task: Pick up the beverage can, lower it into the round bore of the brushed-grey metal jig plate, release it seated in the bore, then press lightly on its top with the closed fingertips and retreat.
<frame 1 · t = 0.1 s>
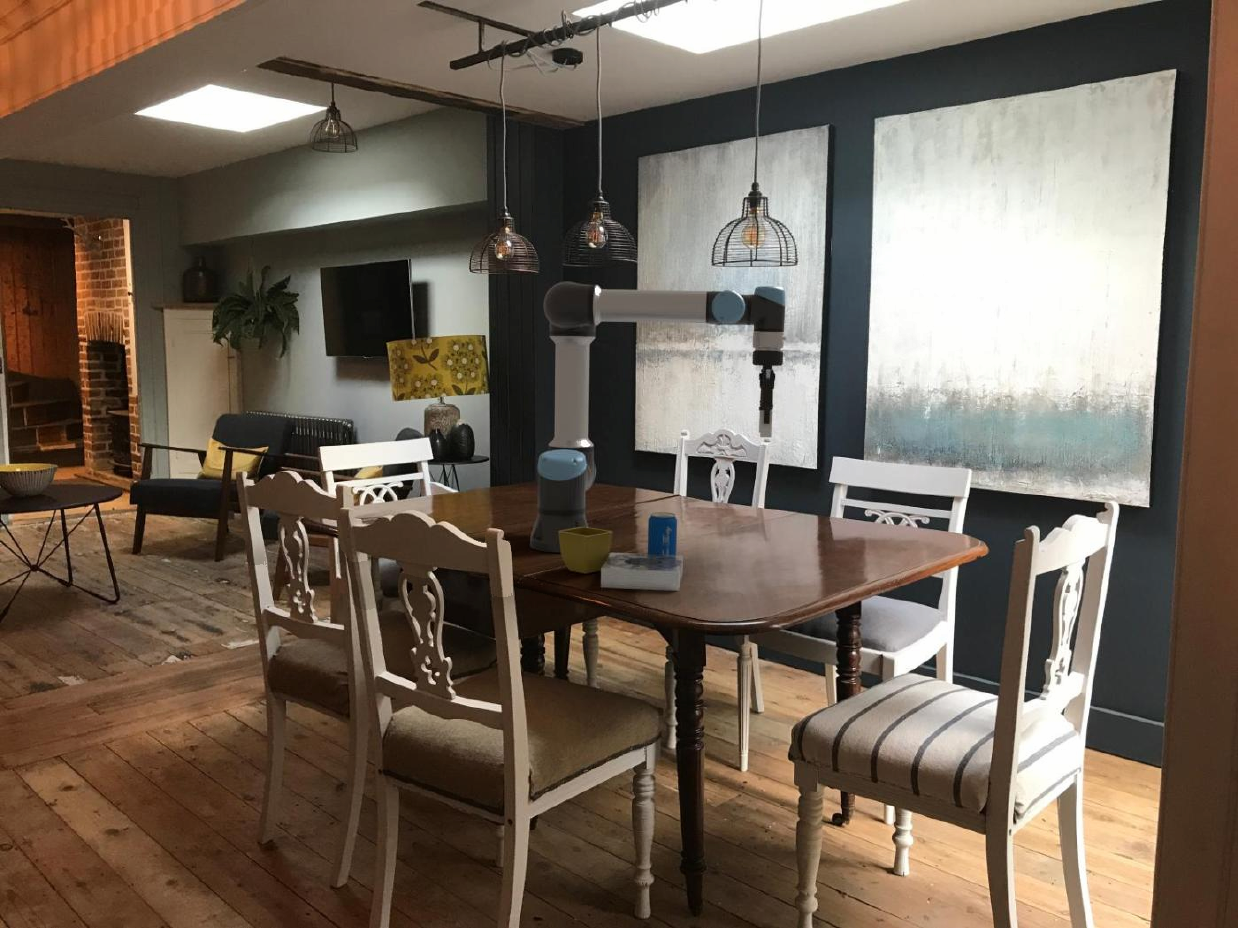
hand: (764, 435, 250), 28 cm above the table, fingers open, 13 cm apart
flower pot: (584, 571, 220), on the table
jig: (643, 580, 213), on the table
beverage can: (661, 567, 226), on the table
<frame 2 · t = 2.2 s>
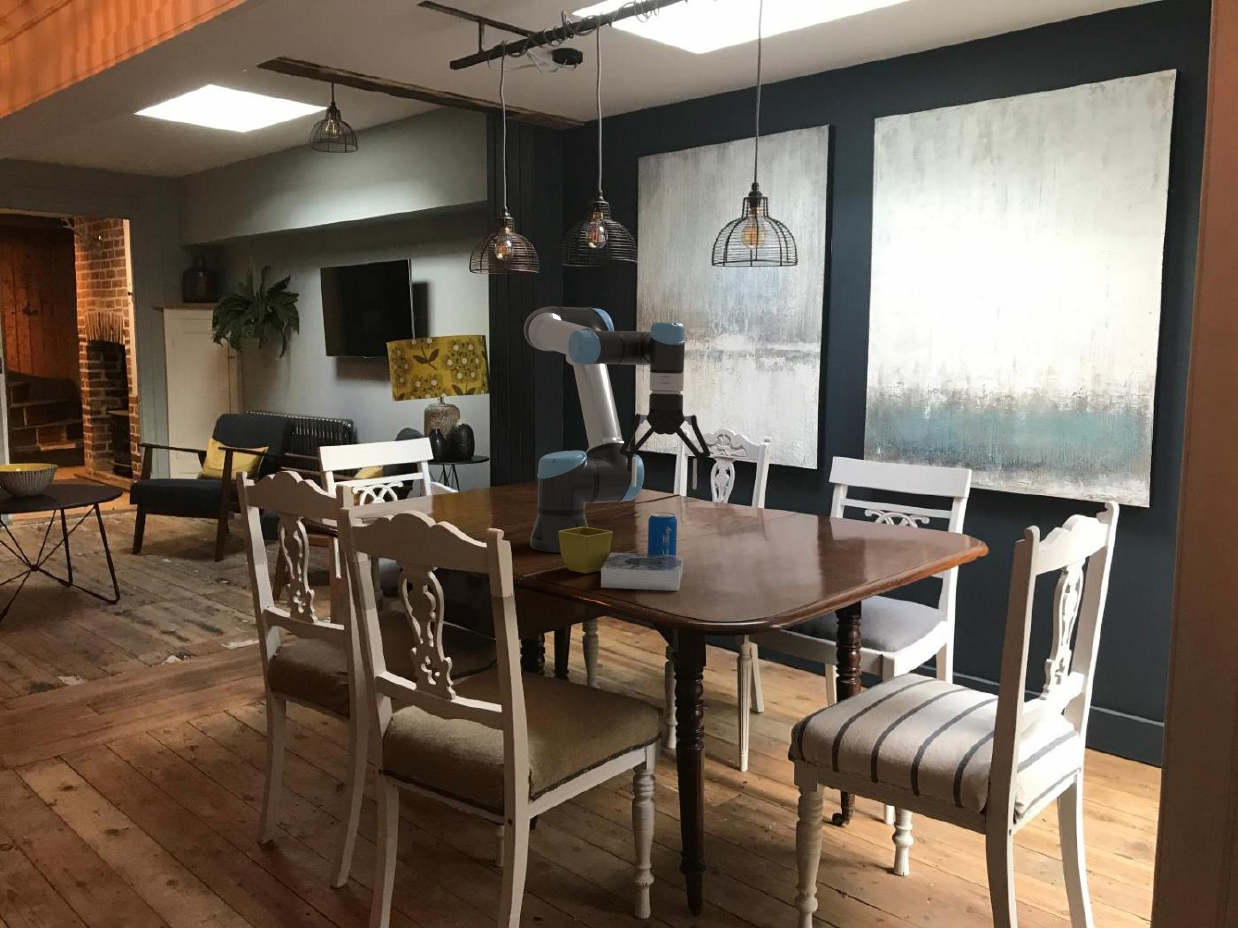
hand: (664, 487, 224), 18 cm above the table, fingers open, 13 cm apart
nothing on the table moved.
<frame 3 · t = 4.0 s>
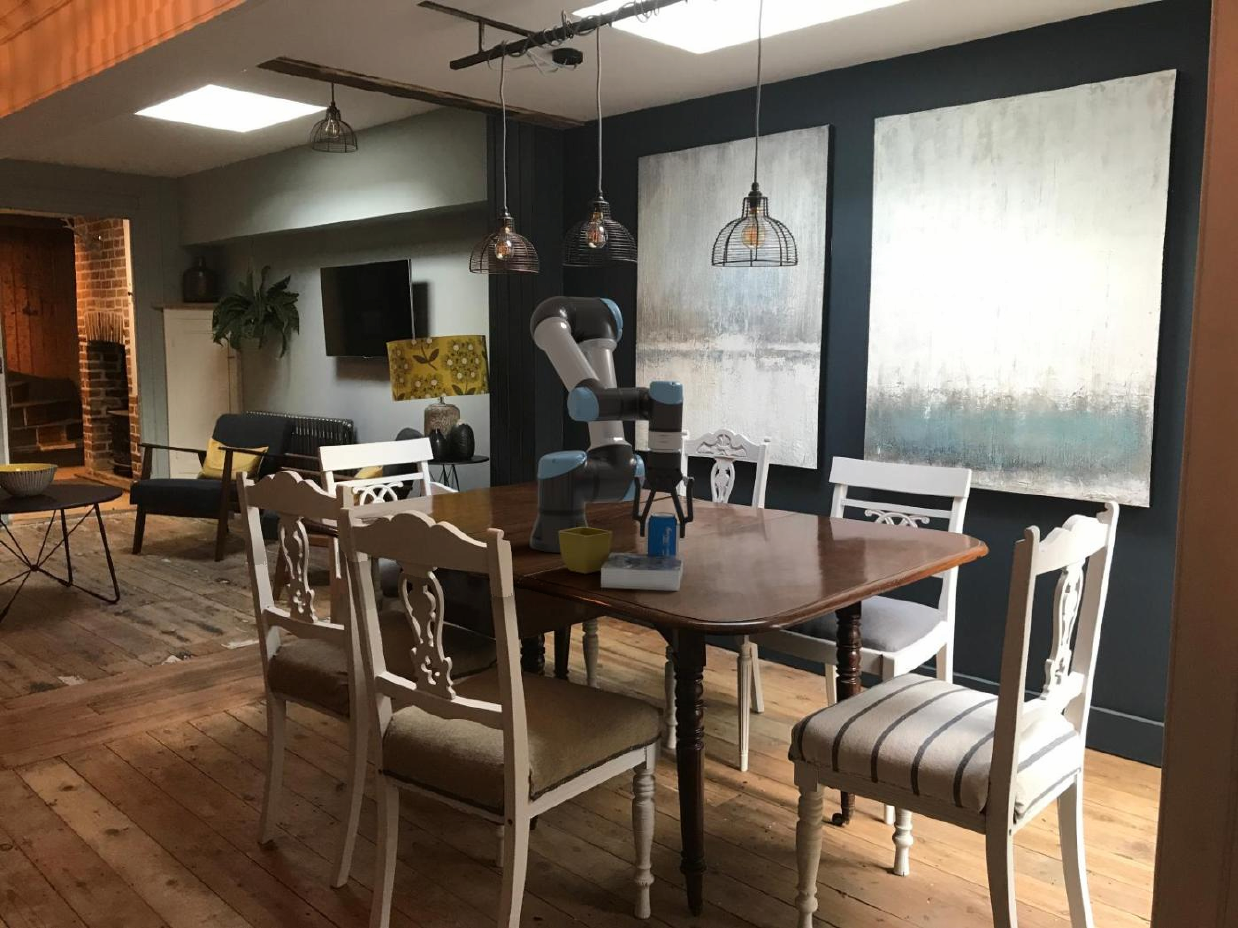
hand: (662, 551, 226), 3 cm above the table, fingers closed on beverage can, 6 cm apart
beverage can: (661, 567, 226), on the table, touching gripper
everything else where it was.
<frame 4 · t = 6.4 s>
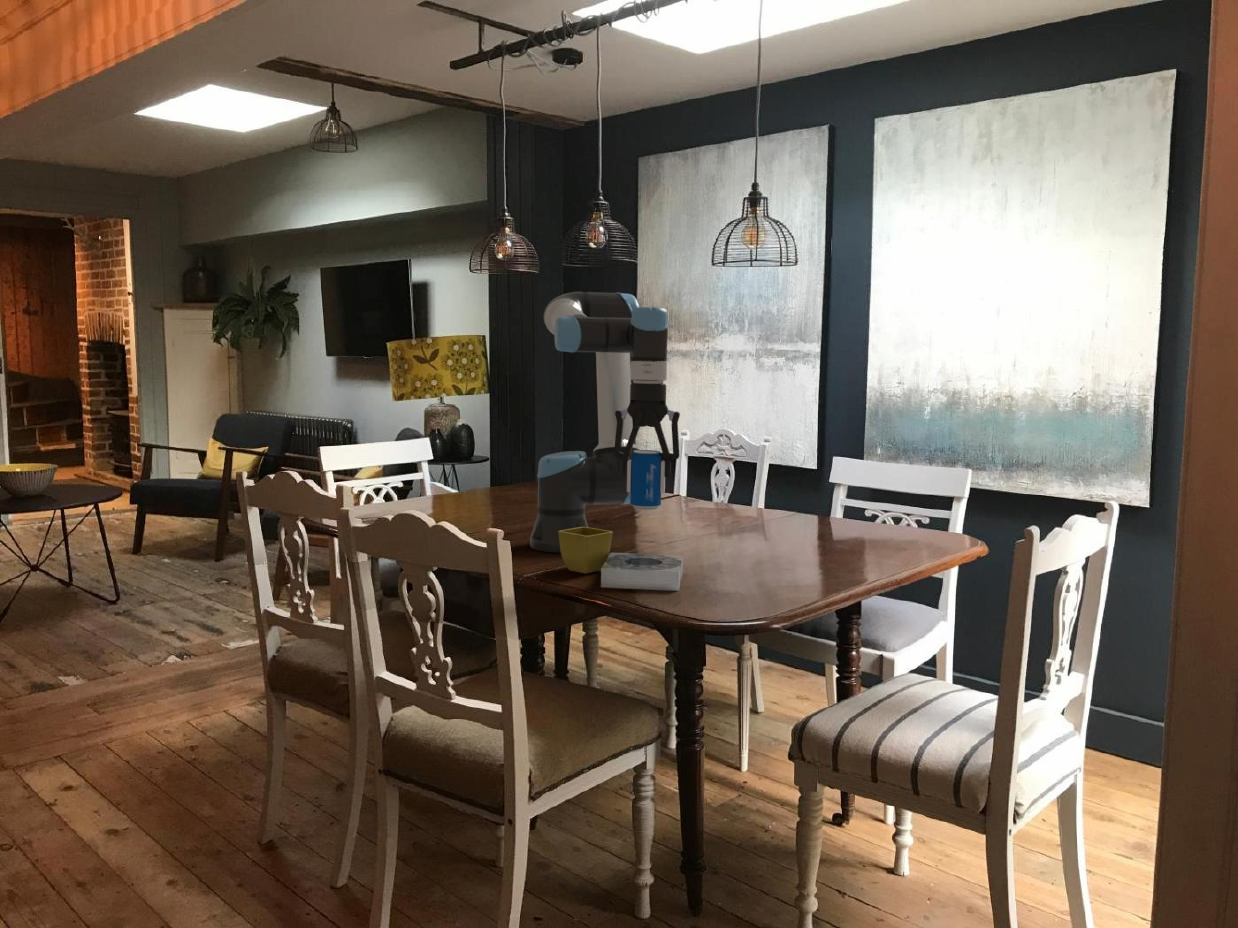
hand: (645, 491, 211), 19 cm above the table, fingers closed on beverage can, 6 cm apart
beverage can: (645, 508, 211), point 15 cm above the table, touching gripper
everything else where it was.
when the fingers open (5 cm above the table, at t = 8.8 s): beverage can drops 2 cm, resting in jig.
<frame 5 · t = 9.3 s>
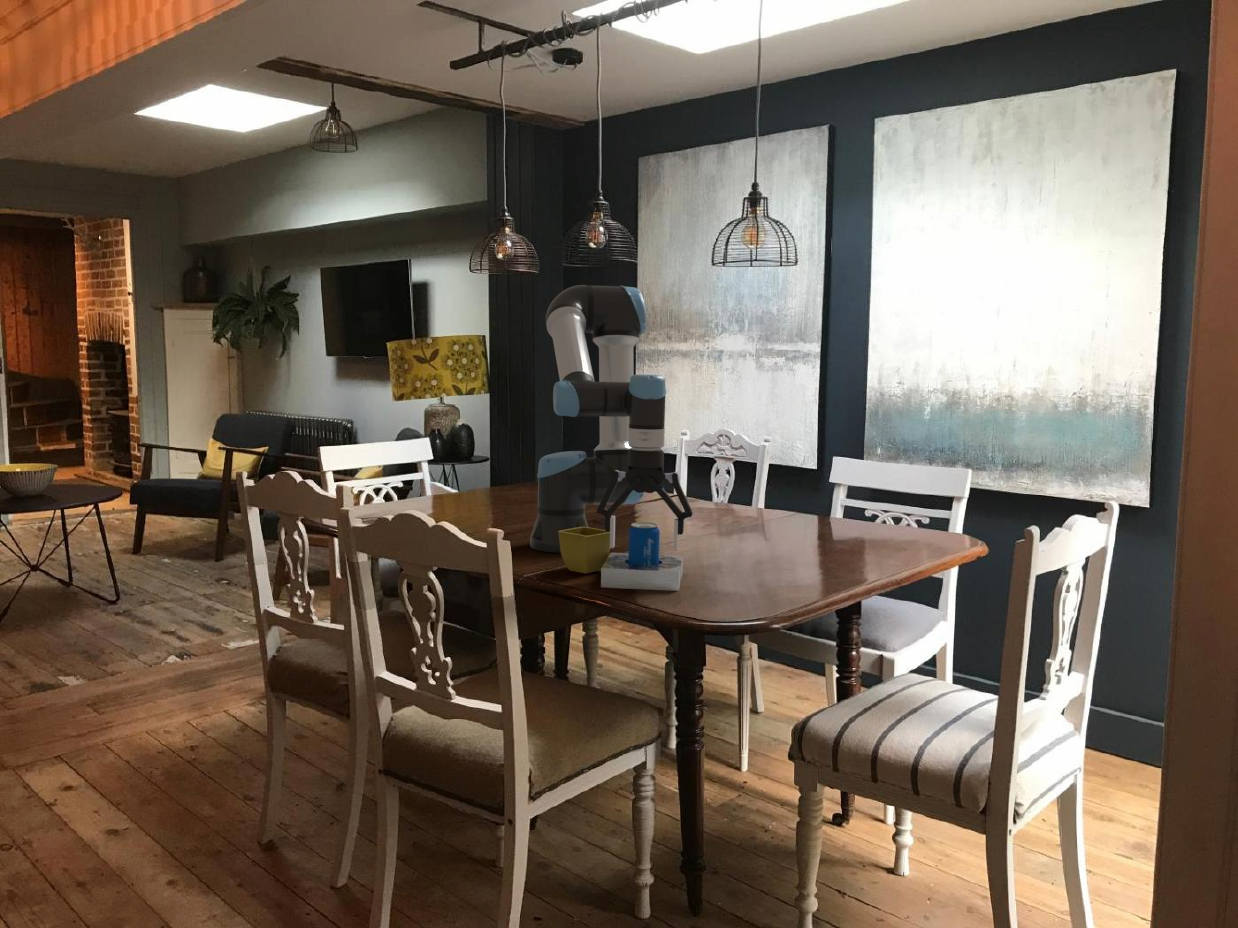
hand: (643, 548, 212), 7 cm above the table, fingers open, 13 cm apart
beverage can: (643, 581, 213), resting in jig
everything else where it was.
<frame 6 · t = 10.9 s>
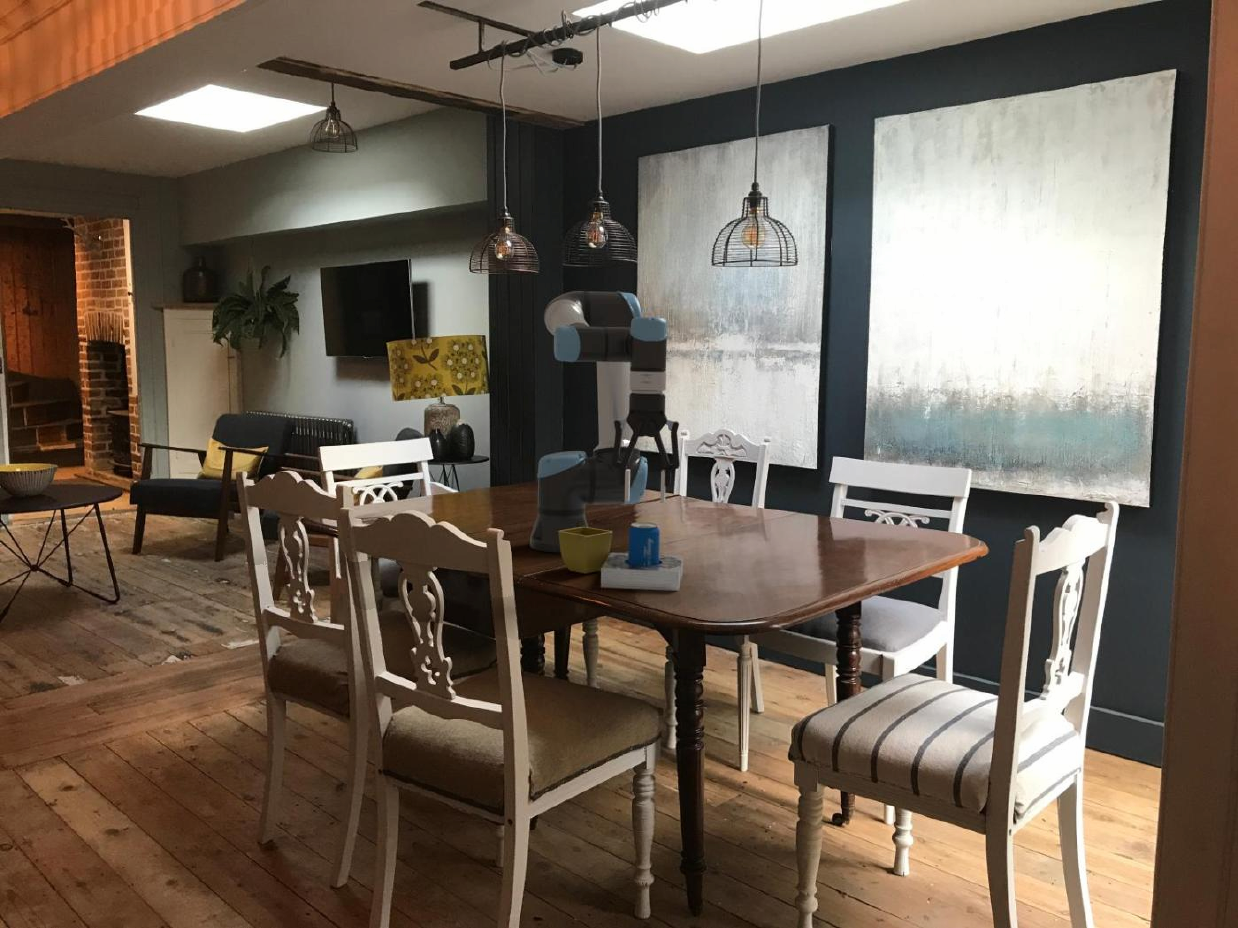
hand: (644, 501, 211), 17 cm above the table, fingers open, 7 cm apart
nothing on the table moved.
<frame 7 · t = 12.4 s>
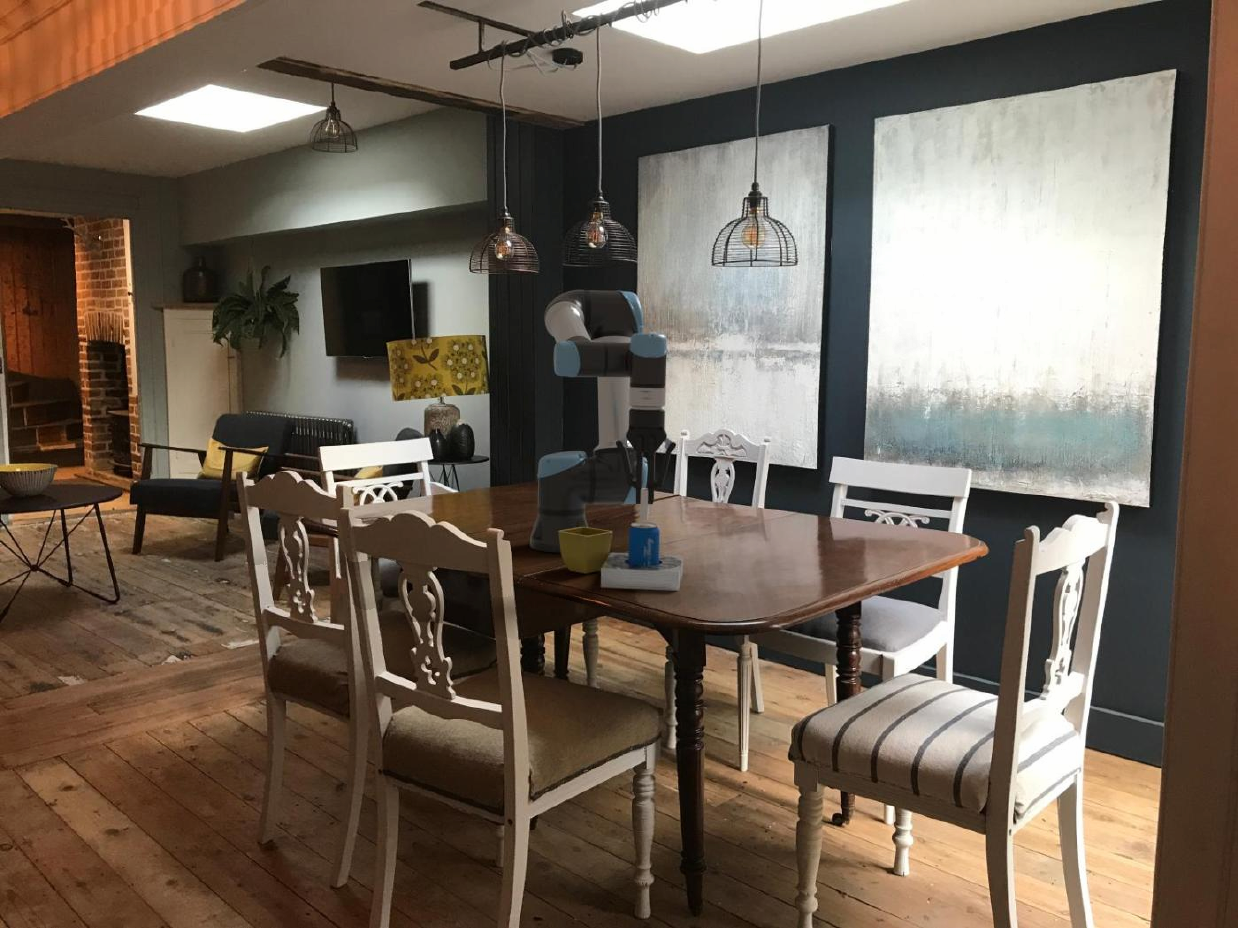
hand: (644, 519, 211), 13 cm above the table, fingers closed
nothing on the table moved.
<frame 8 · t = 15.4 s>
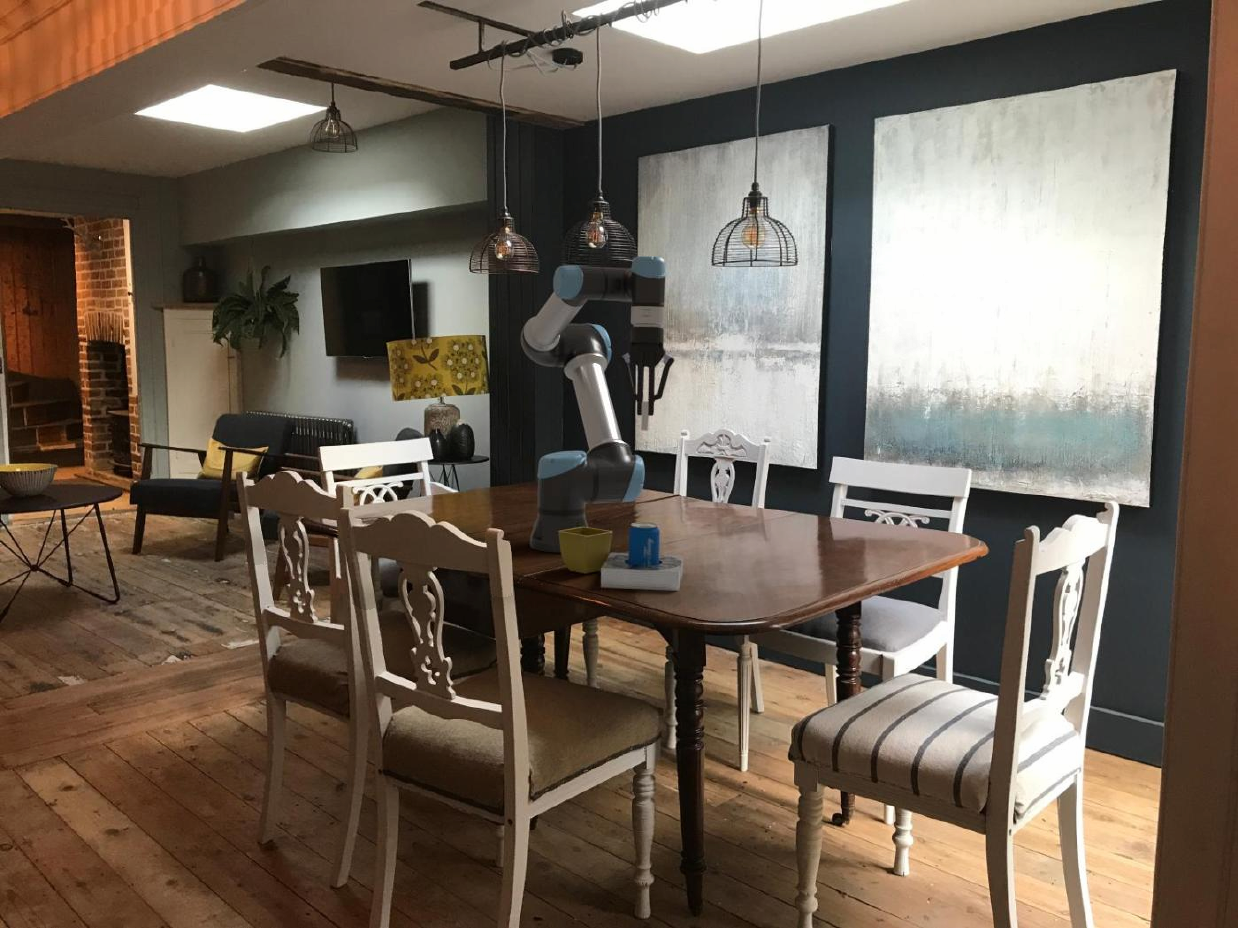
hand: (645, 429, 229), 30 cm above the table, fingers closed
nothing on the table moved.
at the end: beverage can 0.0 cm off-centre in the jig, point 0.0 cm above the jig's base; beverage can tilted 0°; the gripper is holding nothing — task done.
